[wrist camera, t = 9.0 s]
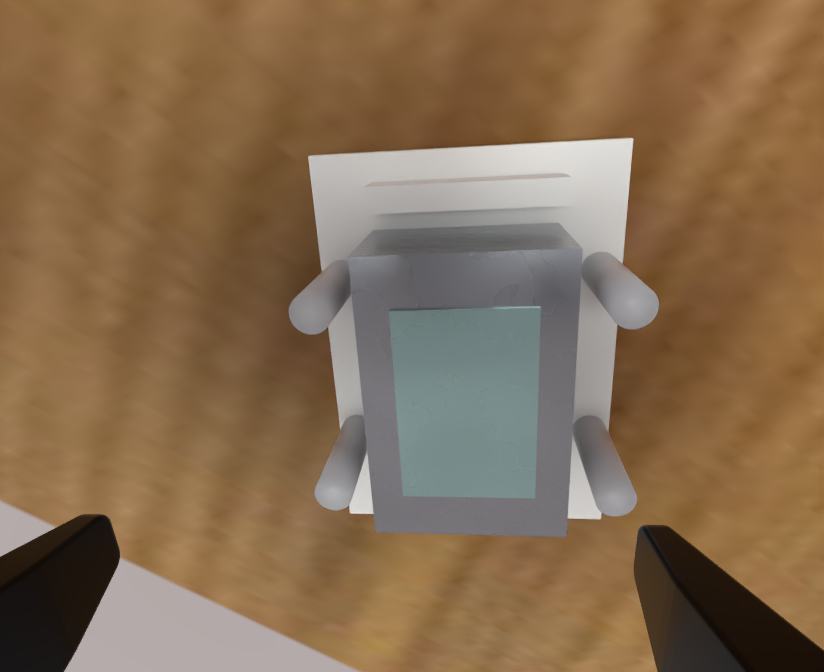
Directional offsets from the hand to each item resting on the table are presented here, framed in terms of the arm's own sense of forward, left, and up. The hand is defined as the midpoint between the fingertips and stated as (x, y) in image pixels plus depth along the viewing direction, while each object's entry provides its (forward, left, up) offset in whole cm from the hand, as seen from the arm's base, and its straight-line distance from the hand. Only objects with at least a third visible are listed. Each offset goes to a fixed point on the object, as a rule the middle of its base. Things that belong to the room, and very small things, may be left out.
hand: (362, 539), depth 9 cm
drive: (+2, -1, -11) cm, 11 cm away
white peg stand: (+2, -1, -12) cm, 12 cm away
